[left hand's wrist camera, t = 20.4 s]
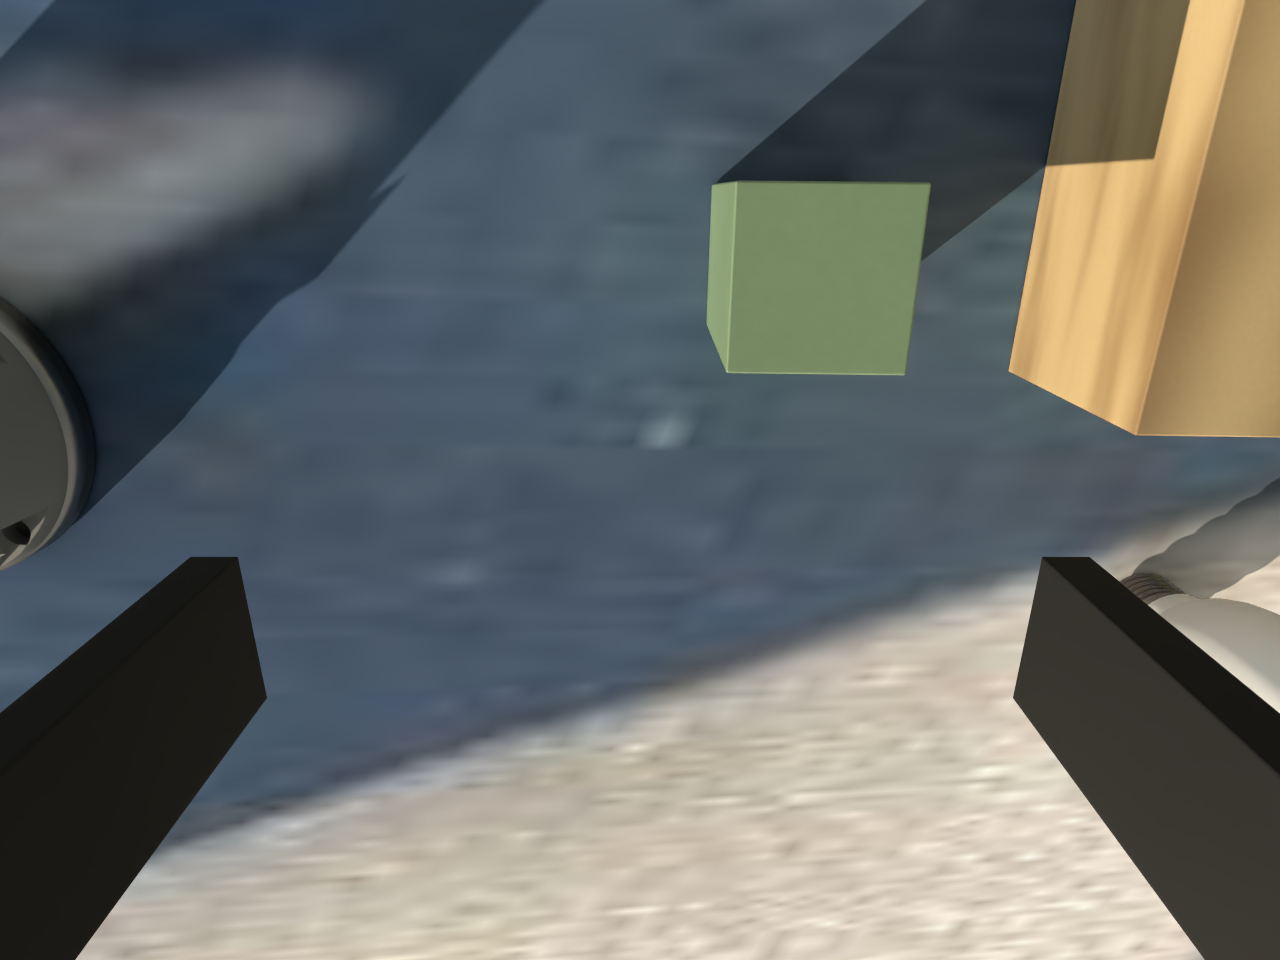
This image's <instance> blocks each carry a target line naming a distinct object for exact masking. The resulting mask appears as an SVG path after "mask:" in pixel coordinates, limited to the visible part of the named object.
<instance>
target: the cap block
mask: <svg viewBox="0 0 1280 960" xmlns="http://www.w3.org/2000/svg"><path fill="white" fill-rule="evenodd" d="M930 189H931V183H929V182H844V181H741V180H738V181H731V182H724V183H718V184H713V185H712V200H711V226H710V251H709V276H708V302H707V326H708V328H709V331H710V333H711V336H712V338H713V340H714V343H715V345H716V348H717V350H718V353H719V355H720V358H721V360H722V362H723V365H724V367H725V370H726V372H727V373H773V374H852V375H905V374H906V370H907V362H908V355H909V347H910V340H911V332H912V324H913V317H914V309H915V302H916V294H917V287H918V279H919V272H920V264H921V257H922V249H923V242H924V234H925V227H926V219H927V212H928V204H929V197H930Z"/></svg>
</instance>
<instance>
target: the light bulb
mask: <svg viewBox="0 0 1280 960" xmlns="http://www.w3.org/2000/svg"><path fill="white" fill-rule="evenodd" d="M1120 583H1122V584H1123V585H1124V586H1125V587H1126V588H1128V589H1129V590H1130V591H1131V592H1133V593H1134V594H1135V595H1136V596H1137V597H1139V598H1140V599H1141V600H1142V601H1144V602H1145V603H1146V604H1147V605H1148V606H1150V607H1151V608H1152V609H1153V610H1155V611H1156V612H1157V613H1158V614H1159V615H1161V616H1162V617H1163V618H1164V619H1165V620H1167V621H1168V622H1169V623H1170V624H1172V625H1173V626H1174V627H1175V628H1176V629H1178V630H1179V631H1180V632H1181V633H1183V634H1184V635H1185V636H1186V637H1187V638H1189V639H1190V640H1191V641H1192V642H1194V643H1195V644H1196V645H1197V646H1198V647H1200V648H1201V649H1202V650H1203V651H1205V652H1206V653H1207V654H1208V655H1209V656H1211V657H1212V658H1213V659H1214V660H1215V661H1217V662H1218V663H1219V664H1220V665H1222V666H1223V667H1224V668H1225V669H1226V670H1228V671H1229V672H1230V673H1231V674H1233V675H1234V676H1235V677H1236V678H1237V679H1239V680H1240V681H1241V682H1242V683H1244V684H1245V685H1246V686H1247V687H1248V688H1250V689H1251V690H1252V691H1253V692H1255V693H1256V694H1257V695H1258V696H1259V697H1261V698H1262V699H1263V700H1264V701H1266V702H1267V703H1268V704H1269V705H1270V706H1272V707H1273V708H1274V709H1275V710H1276V711H1278V712H1279V713H1280V615H1278V614H1276V613H1274V612H1271V611H1268V610H1266V609H1263V608H1260V607H1257V606H1255V605H1252V604H1249V603H1245V602H1239V601H1233V600H1226V599H1198V598H1196V597H1194V596H1191V595H1186V594H1185V593H1184V592H1183V591H1181V590H1180V589H1179V588H1177V587H1176V586H1175V585H1173V584H1172V583H1170V582H1169V581H1168V580H1166V579H1165V578H1163V577H1161V576H1158V575H1154V574H1136V575H1133V576H1130V577H1127V578H1125V579H1123V580H1121V581H1120Z"/></svg>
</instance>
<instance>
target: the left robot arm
mask: <svg viewBox="0 0 1280 960" xmlns="http://www.w3.org/2000/svg"><path fill="white" fill-rule="evenodd" d="M94 467H95V449H94V439H93V433H92V428H91V423H90V420H89V416H88V413H87V410H86V407H85V404H84V402H83V399H82V397H81V394H80V392H79V390H78V388H77V386H76V384H75V382H74V380H73V378H72V376H71V374H70V373H69V371H68V370H67V368H66V366H65V365H64V363H63V362H62V360H61V359H60V357H59V356H58V355H57V353H56V352H55V351H54V349H53V348H52V347H51V345H50V344H49V343H48V342H47V341H46V339H45V338H44V337H43V336H42V335H41V334H40V333H39V332H38V331H37V330H36V329H35V328H34V327H33V326H32V324H31V323H30V322H29V321H28V320H26V319H25V318H24V317H23V316H22V315H21V314H20V313H18V312H17V311H16V310H15V309H14V308H13V307H11V306H10V305H9V304H7V303H6V302H5V301H3V300H2V299H1V298H0V571H1V570H4V569H7V568H9V567H11V566H13V565H15V564H17V563H19V562H21V561H23V560H24V559H26V558H28V557H29V556H31V555H33V554H35V553H36V552H38V551H40V550H41V549H43V548H45V547H46V546H48V545H50V544H51V543H53V542H54V541H56V540H57V539H58V538H59V537H60V536H62V535H63V534H64V533H65V532H66V531H67V530H68V529H69V528H70V527H71V526H72V524H73V523H74V522H75V520H76V519H77V518H78V516H79V515H80V513H81V511H82V509H83V507H84V505H85V503H86V501H87V498H88V496H89V493H90V490H91V486H92V481H93V475H94ZM266 698H267V696H266V691H265V686H264V682H263V677H262V672H261V667H260V662H259V657H258V653H257V648H256V643H255V638H254V633H253V628H252V624H251V619H250V614H249V609H248V604H247V600H246V595H245V590H244V585H243V580H242V575H241V571H240V566H239V561H238V557H190V558H189V559H188V560H186V561H185V562H184V563H183V564H182V565H180V566H179V567H178V568H177V569H175V570H174V571H173V572H172V573H171V574H169V575H168V576H167V577H166V578H165V579H163V580H162V581H161V582H160V583H158V584H157V585H156V586H155V587H154V588H152V589H151V590H150V591H149V592H147V593H146V594H145V595H144V596H143V597H141V598H140V599H139V600H138V601H136V602H135V603H134V604H133V605H132V606H130V607H129V608H128V609H127V610H125V611H124V612H123V613H122V614H121V615H119V616H118V617H117V618H116V619H115V620H113V621H112V622H111V623H110V624H108V625H107V626H106V627H105V628H104V629H102V630H101V631H100V632H99V633H97V634H96V635H95V636H94V637H93V638H91V639H90V640H89V641H88V642H86V643H85V644H84V645H83V646H82V647H80V648H79V649H78V650H77V651H75V652H74V653H73V654H72V655H71V656H69V657H68V658H67V659H66V660H64V661H63V662H62V663H61V664H60V665H58V666H57V667H56V668H55V669H54V670H52V671H51V672H50V673H49V674H47V675H46V676H45V677H44V678H43V679H41V680H40V681H39V682H38V683H36V684H35V685H34V686H33V687H32V688H30V689H29V690H28V691H27V692H25V693H24V694H23V695H22V696H21V697H19V698H18V699H17V700H16V701H14V702H13V703H12V704H11V705H10V706H8V707H7V708H6V709H5V710H4V711H2V712H1V713H0V960H75V959H76V958H77V956H78V955H79V954H80V952H81V951H82V950H83V948H84V947H85V946H86V944H87V943H88V941H89V940H90V939H91V937H92V936H93V935H94V933H95V932H96V931H97V929H98V928H99V926H100V925H101V924H102V922H103V921H104V920H105V918H106V917H107V916H108V914H109V913H110V911H111V910H112V909H113V907H114V906H115V905H116V903H117V902H118V901H119V899H120V898H121V896H122V895H123V894H124V892H125V891H126V890H127V888H128V887H129V885H130V884H131V883H132V881H133V880H134V879H135V877H136V876H137V875H138V873H139V872H140V870H141V869H142V868H143V866H144V865H145V864H146V862H147V861H148V860H149V858H150V857H151V855H152V854H153V853H154V851H155V850H156V849H157V847H158V846H159V845H160V843H161V842H162V840H163V839H164V838H165V836H166V835H167V834H168V832H169V831H170V830H171V828H172V827H173V825H174V824H175V823H176V821H177V820H178V819H179V817H180V816H181V815H182V813H183V812H184V810H185V809H186V808H187V806H188V805H189V804H190V802H191V801H192V799H193V798H194V797H195V795H196V794H197V793H198V791H199V790H200V789H201V787H202V786H203V784H204V783H205V782H206V780H207V779H208V778H209V776H210V775H211V774H212V772H213V771H214V769H215V768H216V767H217V765H218V764H219V763H220V761H221V760H222V759H223V757H224V756H225V754H226V753H227V752H228V750H229V749H230V748H231V746H232V745H233V744H234V742H235V741H236V739H237V738H238V737H239V735H240V734H241V733H242V731H243V730H244V729H245V727H246V726H247V724H248V723H249V722H250V720H251V719H252V718H253V716H254V715H255V714H256V712H257V711H258V709H259V708H260V707H261V705H262V704H263V703H264V701H265V700H266ZM1013 698H1014V700H1015V701H1016V703H1017V704H1018V705H1019V707H1020V708H1021V709H1022V711H1023V712H1024V714H1025V715H1026V716H1027V718H1028V719H1029V720H1030V722H1031V723H1032V724H1033V726H1034V727H1035V729H1036V730H1037V731H1038V733H1039V734H1040V735H1041V737H1042V738H1043V739H1044V741H1045V742H1046V744H1047V745H1048V746H1049V748H1050V749H1051V750H1052V752H1053V753H1054V754H1055V756H1056V757H1057V759H1058V760H1059V761H1060V763H1061V764H1062V765H1063V767H1064V768H1065V769H1066V771H1067V772H1068V774H1069V775H1070V776H1071V778H1072V779H1073V780H1074V782H1075V783H1076V784H1077V786H1078V787H1079V789H1080V790H1081V791H1082V793H1083V794H1084V795H1085V797H1086V798H1087V800H1088V801H1089V802H1090V804H1091V805H1092V806H1093V808H1094V809H1095V810H1096V812H1097V813H1098V815H1099V816H1100V817H1101V819H1102V820H1103V821H1104V823H1105V824H1106V825H1107V827H1108V828H1109V830H1110V831H1111V832H1112V834H1113V835H1114V836H1115V838H1116V839H1117V840H1118V842H1119V843H1120V845H1121V846H1122V847H1123V849H1124V850H1125V851H1126V853H1127V854H1128V855H1129V857H1130V858H1131V860H1132V861H1133V862H1134V864H1135V865H1136V866H1137V868H1138V869H1139V870H1140V872H1141V873H1142V875H1143V876H1144V877H1145V879H1146V880H1147V881H1148V883H1149V884H1150V885H1151V887H1152V888H1153V890H1154V891H1155V892H1156V894H1157V895H1158V896H1159V898H1160V899H1161V901H1162V902H1163V903H1164V905H1165V906H1166V907H1167V909H1168V910H1169V911H1170V913H1171V914H1172V916H1173V917H1174V918H1175V920H1176V921H1177V922H1178V924H1179V925H1180V926H1181V928H1182V929H1183V931H1184V932H1185V933H1186V935H1187V936H1188V937H1189V939H1190V940H1191V941H1192V943H1193V944H1194V946H1195V947H1196V948H1197V950H1198V951H1199V952H1200V954H1201V955H1202V956H1203V958H1204V959H1205V960H1280V713H1279V712H1278V711H1276V710H1275V709H1274V708H1273V707H1272V706H1270V705H1269V704H1268V703H1267V702H1266V701H1264V700H1263V699H1262V698H1261V697H1259V696H1258V695H1257V694H1256V693H1255V692H1253V691H1252V690H1251V689H1250V688H1248V687H1247V686H1246V685H1245V684H1244V683H1242V682H1241V681H1240V680H1239V679H1237V678H1236V677H1235V676H1234V675H1233V674H1231V673H1230V672H1229V671H1228V670H1226V669H1225V668H1224V667H1223V666H1222V665H1220V664H1219V663H1218V662H1217V661H1215V660H1214V659H1213V658H1212V657H1211V656H1209V655H1208V654H1207V653H1206V652H1205V651H1203V650H1202V649H1201V648H1200V647H1198V646H1197V645H1196V644H1195V643H1194V642H1192V641H1191V640H1190V639H1189V638H1187V637H1186V636H1185V635H1184V634H1183V633H1181V632H1180V631H1179V630H1178V629H1176V628H1175V627H1174V626H1173V625H1172V624H1170V623H1169V622H1168V621H1167V620H1165V619H1164V618H1163V617H1162V616H1161V615H1159V614H1158V613H1157V612H1156V611H1155V610H1153V609H1152V608H1151V607H1150V606H1148V605H1147V604H1146V603H1145V602H1144V601H1142V600H1141V599H1140V598H1139V597H1137V596H1136V595H1135V594H1134V593H1133V592H1131V591H1130V590H1129V589H1128V588H1126V587H1125V586H1124V585H1123V584H1122V583H1120V582H1119V581H1118V580H1117V579H1115V578H1114V577H1113V576H1112V575H1111V574H1109V573H1108V572H1107V571H1106V570H1105V569H1103V568H1102V567H1101V566H1100V565H1098V564H1097V563H1096V562H1095V561H1094V560H1092V559H1091V558H1090V557H1042V561H1041V566H1040V571H1039V575H1038V580H1037V585H1036V590H1035V595H1034V600H1033V604H1032V609H1031V614H1030V619H1029V624H1028V628H1027V633H1026V638H1025V643H1024V648H1023V653H1022V657H1021V662H1020V667H1019V672H1018V677H1017V681H1016V686H1015V691H1014V696H1013Z"/></svg>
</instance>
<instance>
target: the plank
mask: <svg viewBox="0 0 1280 960" xmlns="http://www.w3.org/2000/svg"><path fill="white" fill-rule="evenodd" d="M1009 371H1010V372H1012V373H1014V374H1016V375H1018V376H1020V377H1022V378H1024V379H1026V380H1028V381H1029V382H1031V383H1033V384H1035V385H1037V386H1039V387H1041V388H1043V389H1045V390H1047V391H1049V392H1051V393H1053V394H1055V395H1057V396H1059V397H1061V398H1063V399H1065V400H1067V401H1069V402H1071V403H1073V404H1075V405H1077V406H1079V407H1081V408H1083V409H1085V410H1087V411H1089V412H1091V413H1093V414H1095V415H1097V416H1099V417H1101V418H1103V419H1105V420H1107V421H1109V422H1111V423H1113V424H1115V425H1117V426H1119V427H1121V428H1123V429H1125V430H1127V431H1129V432H1131V433H1132V434H1134V435H1159V436H1227V437H1280V0H1076V5H1075V10H1074V16H1073V21H1072V27H1071V32H1070V38H1069V43H1068V49H1067V54H1066V60H1065V65H1064V70H1063V76H1062V81H1061V87H1060V92H1059V98H1058V103H1057V109H1056V114H1055V120H1054V125H1053V131H1052V136H1051V142H1050V147H1049V153H1048V158H1047V164H1046V169H1045V175H1044V180H1043V185H1042V191H1041V196H1040V202H1039V207H1038V213H1037V218H1036V224H1035V229H1034V235H1033V240H1032V246H1031V251H1030V257H1029V262H1028V268H1027V273H1026V279H1025V284H1024V290H1023V295H1022V300H1021V306H1020V311H1019V317H1018V322H1017V328H1016V333H1015V339H1014V344H1013V350H1012V355H1011V361H1010V366H1009Z"/></svg>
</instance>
